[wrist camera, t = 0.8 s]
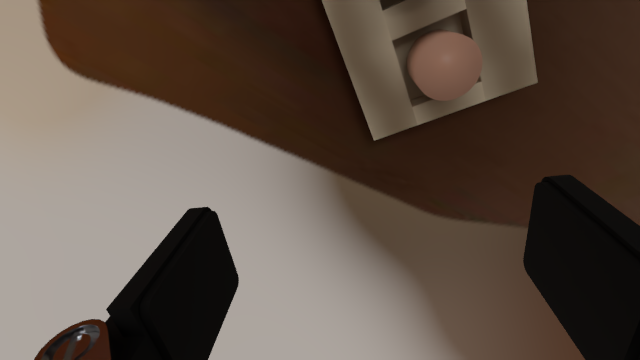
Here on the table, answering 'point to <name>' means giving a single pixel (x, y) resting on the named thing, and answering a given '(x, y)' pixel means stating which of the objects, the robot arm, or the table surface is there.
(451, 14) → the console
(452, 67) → the button terracotta
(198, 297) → the robot arm
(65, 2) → the table surface
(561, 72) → the table surface
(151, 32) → the table surface
